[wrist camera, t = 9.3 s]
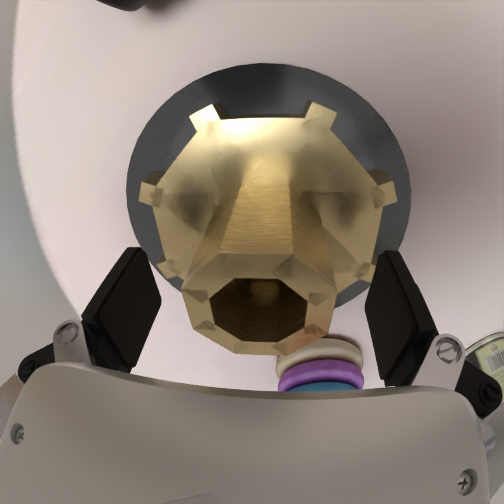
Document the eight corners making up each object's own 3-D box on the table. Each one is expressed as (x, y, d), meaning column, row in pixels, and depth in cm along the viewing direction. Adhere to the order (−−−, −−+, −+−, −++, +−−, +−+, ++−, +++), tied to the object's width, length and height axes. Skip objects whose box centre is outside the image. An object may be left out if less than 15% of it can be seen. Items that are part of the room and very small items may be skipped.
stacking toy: (301, 323, 21) (292, 573, 5) (378, 343, 22) (399, 546, 7) (263, 369, 25) (243, 552, 10) (331, 383, 26) (332, 546, 11)
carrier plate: (416, 80, 10) (454, 85, 7) (373, 308, 19) (383, 347, 16) (115, 88, 12) (73, 97, 9) (167, 303, 21) (152, 340, 18)
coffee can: (449, 386, 28) (467, 470, 16) (438, 364, 24) (462, 472, 13) (506, 351, 23) (533, 432, 12) (508, 319, 19) (548, 421, 8)
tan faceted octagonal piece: (396, 108, 10) (480, 143, 5) (360, 303, 17) (378, 388, 12) (137, 113, 11) (47, 151, 6) (179, 299, 19) (150, 379, 13)
